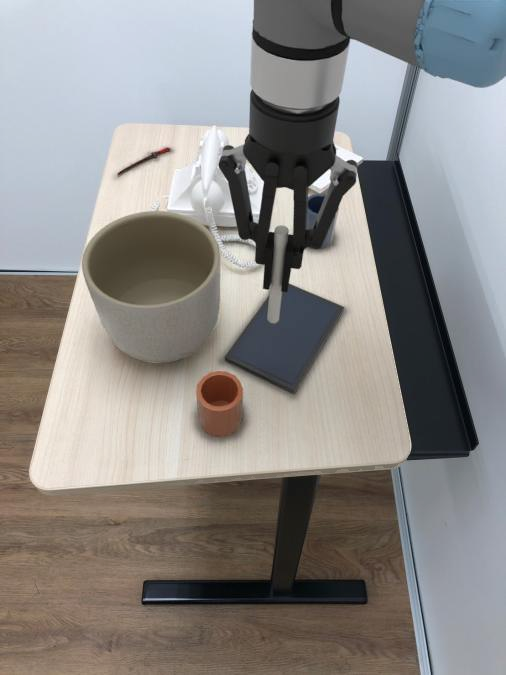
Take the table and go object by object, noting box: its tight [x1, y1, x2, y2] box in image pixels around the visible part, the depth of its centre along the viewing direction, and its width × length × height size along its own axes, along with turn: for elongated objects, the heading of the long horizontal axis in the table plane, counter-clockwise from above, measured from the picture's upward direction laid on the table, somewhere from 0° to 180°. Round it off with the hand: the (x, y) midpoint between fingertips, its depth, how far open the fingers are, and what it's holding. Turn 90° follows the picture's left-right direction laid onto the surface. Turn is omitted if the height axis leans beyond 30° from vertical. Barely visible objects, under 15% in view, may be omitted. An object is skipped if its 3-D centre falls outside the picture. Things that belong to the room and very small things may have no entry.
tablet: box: [224, 283, 345, 395], centre depth 79 cm, size 11×17×1 cm, turn 151°
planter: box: [81, 210, 221, 364], centre depth 73 cm, size 17×17×15 cm
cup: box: [195, 370, 244, 438], centre depth 68 cm, size 6×6×7 cm
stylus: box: [267, 224, 290, 325], centre depth 63 cm, size 2×2×16 cm
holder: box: [306, 193, 340, 250], centre depth 89 cm, size 6×6×7 cm
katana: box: [116, 147, 171, 176], centre depth 102 cm, size 13×2×1 cm, turn 137°
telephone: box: [149, 124, 264, 269], centre depth 88 cm, size 25×21×12 cm
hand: (276, 282), depth 63 cm, fingers closed on stylus, 1 cm apart
